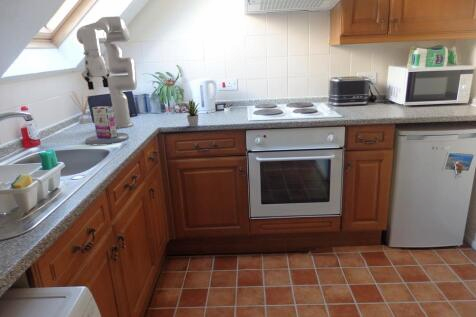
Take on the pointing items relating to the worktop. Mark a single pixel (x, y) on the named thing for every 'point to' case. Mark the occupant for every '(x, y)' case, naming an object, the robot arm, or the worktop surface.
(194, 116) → the house plant
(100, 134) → the candy bar box
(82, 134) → the worktop surface
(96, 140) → the plate
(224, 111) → the worktop surface
